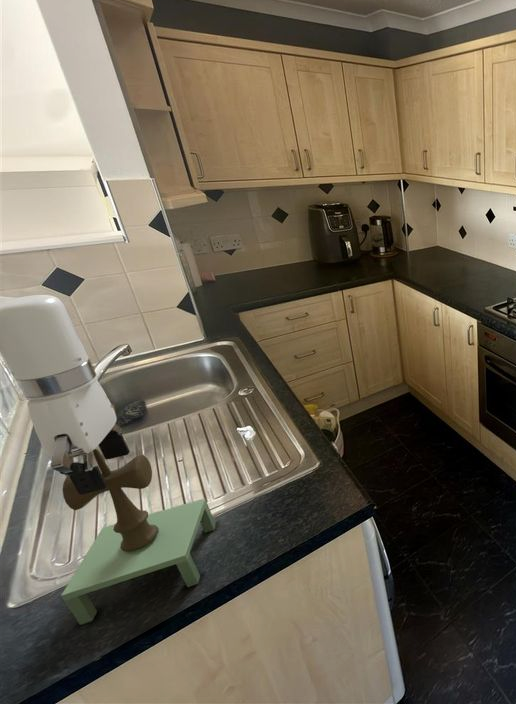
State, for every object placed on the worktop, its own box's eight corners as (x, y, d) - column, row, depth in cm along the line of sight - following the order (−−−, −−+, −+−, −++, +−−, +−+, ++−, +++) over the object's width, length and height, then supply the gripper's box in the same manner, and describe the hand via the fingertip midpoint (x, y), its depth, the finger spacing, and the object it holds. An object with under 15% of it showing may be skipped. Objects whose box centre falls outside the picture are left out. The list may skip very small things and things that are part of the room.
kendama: (112, 539, 72) (62, 448, 65) (178, 517, 76) (138, 429, 69) (99, 567, 67) (43, 471, 60) (171, 541, 71) (127, 449, 64)
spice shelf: (79, 625, 65) (60, 595, 63) (117, 554, 77) (102, 527, 75) (198, 583, 71) (184, 555, 69) (215, 524, 83) (205, 498, 81)
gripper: (58, 360, 66) (102, 447, 72) (-19, 416, 51) (45, 520, 57) (116, 350, 69) (154, 436, 75) (60, 401, 54) (112, 502, 60)
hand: (106, 472), depth 66 cm, fingers open, 8 cm apart
